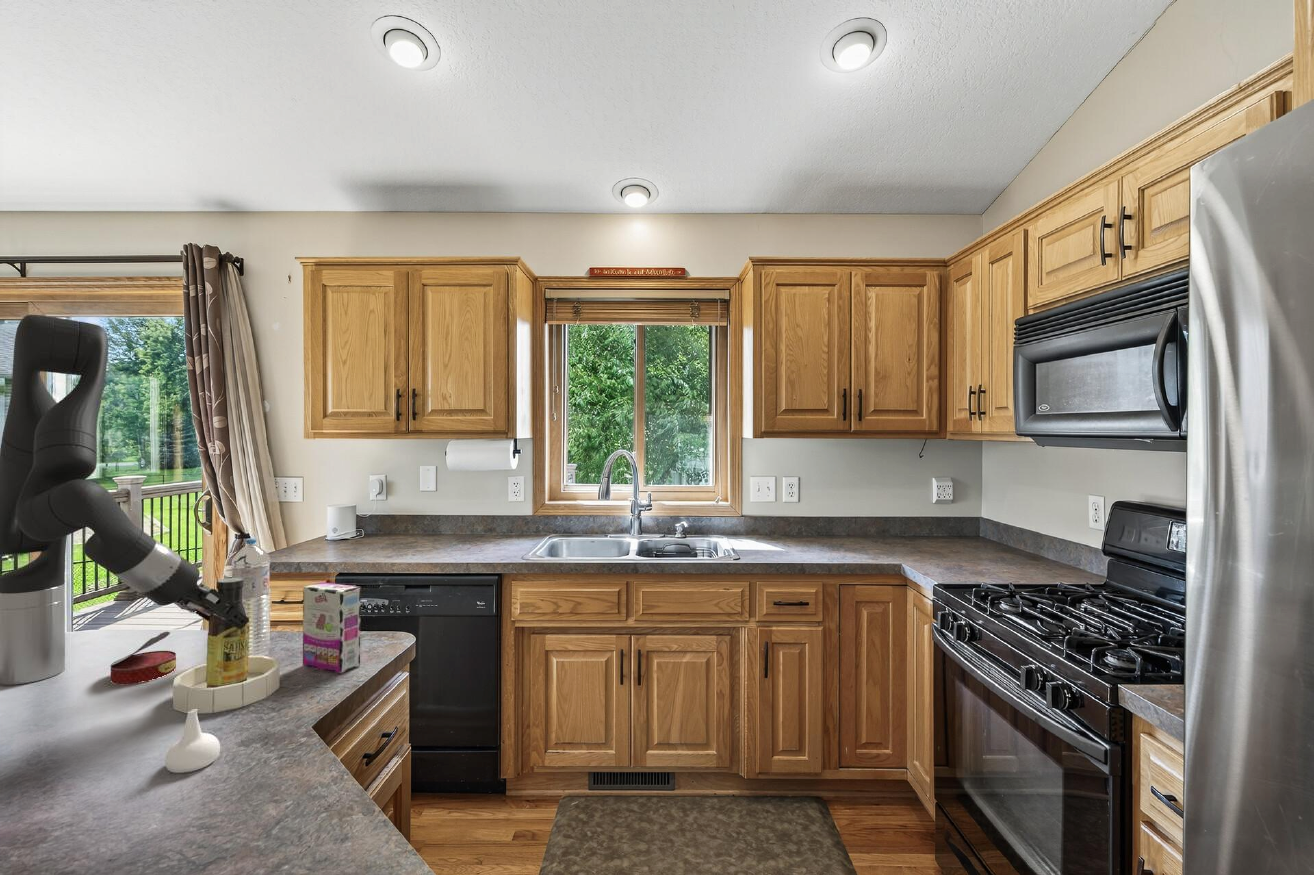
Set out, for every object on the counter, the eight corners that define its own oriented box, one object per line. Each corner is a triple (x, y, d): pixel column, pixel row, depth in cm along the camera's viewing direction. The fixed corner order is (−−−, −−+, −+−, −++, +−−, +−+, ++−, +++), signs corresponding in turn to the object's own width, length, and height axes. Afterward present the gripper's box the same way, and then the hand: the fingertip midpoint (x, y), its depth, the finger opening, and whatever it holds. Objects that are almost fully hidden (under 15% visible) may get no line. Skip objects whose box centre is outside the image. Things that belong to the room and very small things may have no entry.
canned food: (134, 709, 114) (104, 671, 110) (115, 690, 120) (86, 654, 115) (198, 665, 122) (172, 629, 118) (178, 649, 128) (152, 614, 123)
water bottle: (255, 662, 125) (256, 542, 125) (223, 662, 125) (223, 541, 125) (277, 650, 132) (277, 536, 132) (246, 650, 132) (246, 536, 132)
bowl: (154, 702, 107) (154, 679, 107) (246, 670, 121) (246, 650, 121) (206, 720, 100) (206, 696, 100) (297, 685, 114) (297, 664, 114)
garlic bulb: (205, 751, 92) (203, 698, 92) (230, 758, 89) (227, 703, 89) (156, 772, 86) (154, 716, 86) (181, 780, 83) (178, 721, 84)
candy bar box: (362, 666, 124) (362, 586, 124) (341, 675, 119) (341, 592, 119) (322, 657, 128) (323, 580, 128) (301, 666, 124) (301, 586, 123)
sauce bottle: (225, 698, 106) (226, 585, 106) (196, 694, 108) (197, 583, 107) (257, 683, 113) (258, 576, 112) (229, 680, 114) (230, 575, 114)
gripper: (200, 556, 99) (269, 608, 110) (152, 549, 105) (222, 598, 116) (162, 596, 95) (239, 646, 105) (114, 586, 101) (191, 634, 111)
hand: (230, 621), depth 111 cm, fingers open, 8 cm apart
